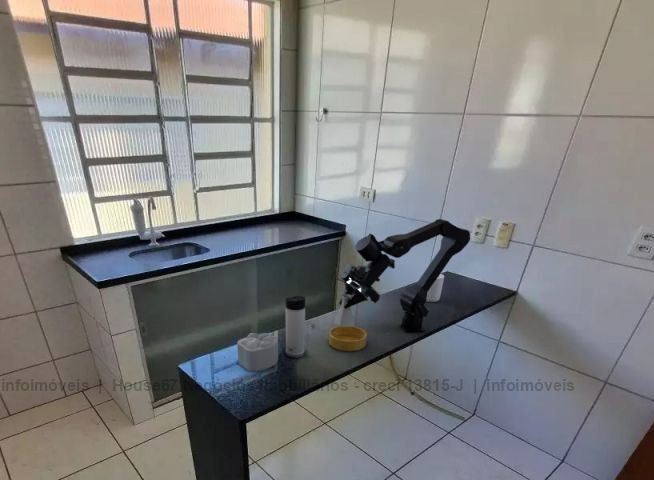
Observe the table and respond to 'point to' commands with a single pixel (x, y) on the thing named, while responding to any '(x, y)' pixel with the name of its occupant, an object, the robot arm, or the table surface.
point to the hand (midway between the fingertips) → (342, 306)
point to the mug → (435, 290)
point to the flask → (344, 314)
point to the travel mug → (295, 326)
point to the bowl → (347, 338)
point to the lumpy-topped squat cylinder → (258, 351)
